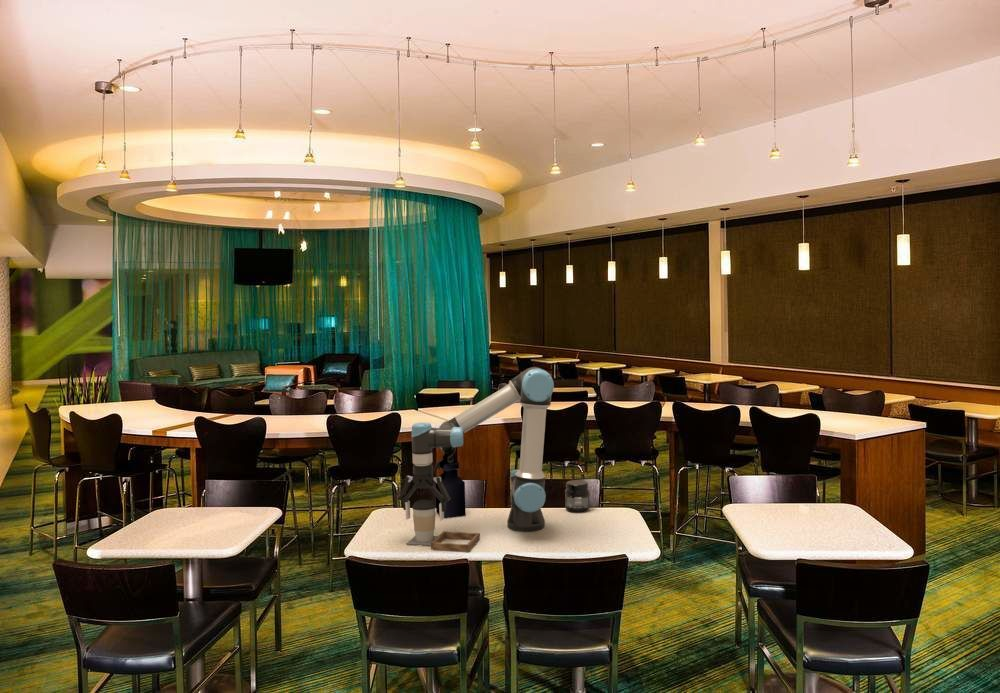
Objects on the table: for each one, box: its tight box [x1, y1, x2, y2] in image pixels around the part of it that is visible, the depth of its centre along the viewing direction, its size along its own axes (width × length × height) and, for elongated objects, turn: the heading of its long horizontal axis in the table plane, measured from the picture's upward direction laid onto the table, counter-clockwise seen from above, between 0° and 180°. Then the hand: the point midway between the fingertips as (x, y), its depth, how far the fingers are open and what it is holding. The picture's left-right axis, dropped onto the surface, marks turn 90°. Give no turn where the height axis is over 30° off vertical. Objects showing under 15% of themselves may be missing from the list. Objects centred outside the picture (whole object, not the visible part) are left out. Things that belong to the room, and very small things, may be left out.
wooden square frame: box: [430, 530, 481, 553], centre depth 271 cm, size 14×14×2 cm
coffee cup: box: [411, 499, 437, 542], centre depth 276 cm, size 9×9×15 cm
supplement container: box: [564, 479, 590, 514], centre depth 314 cm, size 10×10×12 cm
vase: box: [433, 447, 467, 520], centre depth 312 cm, size 14×12×35 cm
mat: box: [405, 535, 439, 547], centre depth 276 cm, size 11×11×1 cm
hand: (424, 519), depth 276 cm, fingers open, 13 cm apart
